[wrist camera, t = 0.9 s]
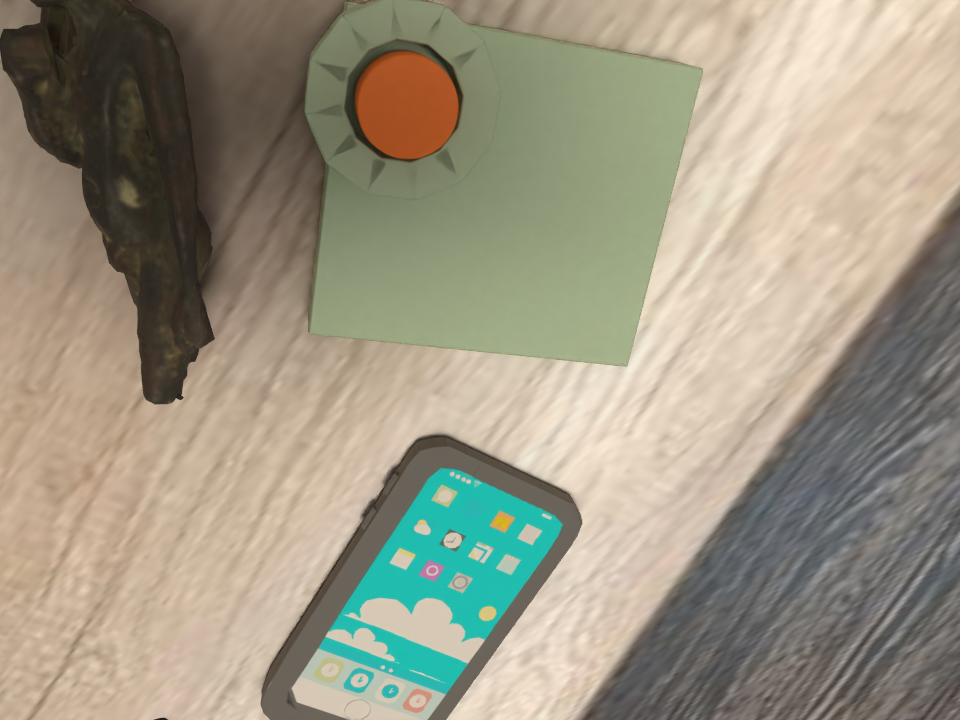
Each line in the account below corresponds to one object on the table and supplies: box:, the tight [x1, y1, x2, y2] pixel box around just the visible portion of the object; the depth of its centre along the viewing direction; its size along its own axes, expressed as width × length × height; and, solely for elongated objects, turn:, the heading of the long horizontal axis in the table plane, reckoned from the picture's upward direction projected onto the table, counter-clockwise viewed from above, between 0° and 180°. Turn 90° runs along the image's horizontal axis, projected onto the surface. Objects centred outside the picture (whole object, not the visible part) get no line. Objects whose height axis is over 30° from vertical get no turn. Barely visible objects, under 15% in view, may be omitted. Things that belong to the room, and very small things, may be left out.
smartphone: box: [261, 437, 582, 720], centre depth 39 cm, size 9×1×15 cm
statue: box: [0, 0, 215, 404], centre depth 27 cm, size 6×6×20 cm
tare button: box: [354, 50, 459, 159], centre depth 27 cm, size 3×3×2 cm
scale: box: [304, 0, 703, 366], centre depth 31 cm, size 13×12×4 cm
